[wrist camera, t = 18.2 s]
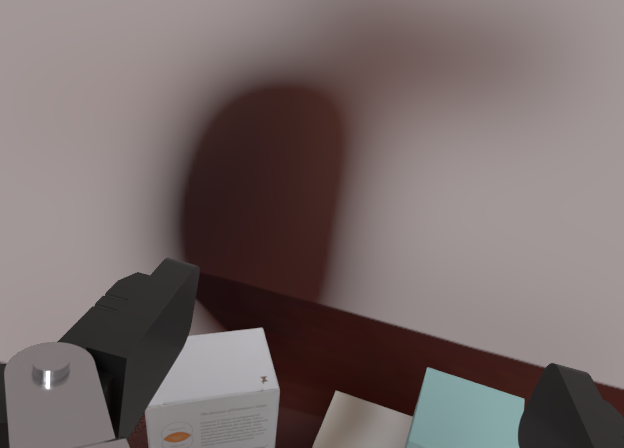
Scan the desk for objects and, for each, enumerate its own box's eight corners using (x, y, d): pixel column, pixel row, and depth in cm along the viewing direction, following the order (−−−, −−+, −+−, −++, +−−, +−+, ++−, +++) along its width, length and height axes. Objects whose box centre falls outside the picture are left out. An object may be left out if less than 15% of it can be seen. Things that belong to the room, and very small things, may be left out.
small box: (258, 426, 43) (266, 325, 37) (272, 492, 38) (283, 388, 33) (152, 442, 41) (143, 337, 35) (153, 514, 36) (143, 406, 31)
